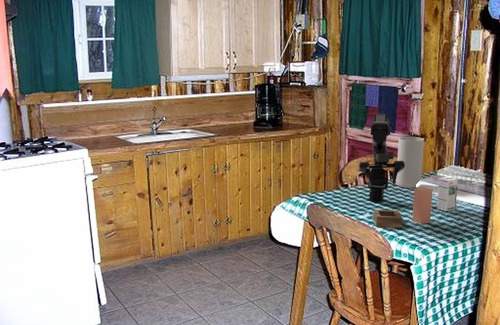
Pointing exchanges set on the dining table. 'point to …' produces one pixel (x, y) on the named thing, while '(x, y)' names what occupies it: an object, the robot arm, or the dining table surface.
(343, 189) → the dining table surface
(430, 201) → the square peg
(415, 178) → the cylinder vase
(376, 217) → the socket block
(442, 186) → the syrup box
